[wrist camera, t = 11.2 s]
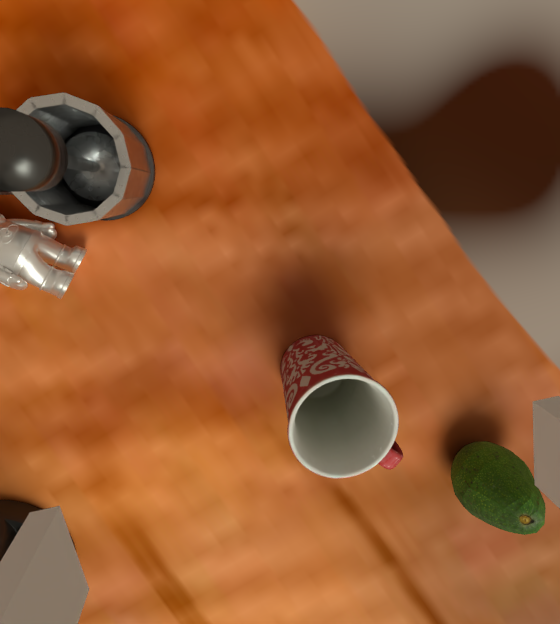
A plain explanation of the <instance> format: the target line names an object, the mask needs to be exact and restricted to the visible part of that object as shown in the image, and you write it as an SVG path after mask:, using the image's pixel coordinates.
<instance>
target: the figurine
mask: <svg viewBox="0 0 560 624" xmlns="http://www.w3.org/2000/svg"><path fill="white" fill-rule="evenodd" d="M56 237H57V231H56V230H55V225H54V224H53V223H51V222H46V223H44V222H41V221H38V220H28V219H5V217H4V216H3V215H2V214H0V283H1V284H3V285H5V286H7V287H11V288H14V289H17V290H24V289H26V288H27V287H28V284H27V283H29V284H32V285H34V286H36V287H38V288H39V290H43V291H46V292H48V293H50V294H53V295H55V296H57V298H60V299H61V298H62V297H63V295H64V293H65V292H66V290H67V288H68V286H69V284H70V282H71V281H72V279H73V277H74V273H75V272H76V270H77V268H78V267H79V265H80V263H81V261H82V260H83V258H84V256H85V254H86V252H87V249H86V248H82V247H80V246H75V247H73V248H72V247H68V246H66V244H64V245H63V244H61V243H59V242H57V241H55V240H54V239H55V238H56ZM48 264H52V265H53V266H54V267H55V266H56V267H59V268H61V269H64V270H58V269H55V268H54V267H53V266H52V267H51V266H49V265H48ZM65 270H66V271H65Z"/></svg>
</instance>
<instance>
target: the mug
mask: <svg viewBox="0 0 560 624" xmlns="http://www.w3.org/2000/svg"><path fill="white" fill-rule="evenodd" d="M281 378H282V383H283V389H284V396H285V403H286V410H287V416H288V440H289V444H290V447H291V450H292V452H293V454H294V455H295V457H296V458H297V460H298V461H299V462H300V463H301V464H302V465H303V466H304V467H305V468H307V469H308V470H310V471H311V472H313V473H315V474H318V475H320V476H324V477H328V478H337V479H339V478H348V477H353V476H356V475H359V474H362V473H364V472H366V471H368V470H369V469H371V468H373V467H374V466H375V465H377V464H380V465H381V466H382V467H384V468H386V469H393V468H394V467H395V466H396V465H397V464H398V463H399V462H400V461H401V459H402V458H403V453H402V450H401V449H400V447H399V446H398V444H397V443H396V441H395V438H396V435H397V431H398V425H399V418H398V411H397V407H396V404H395V402H394V400H393V398H392V396H391V395H390V393H389V392H388V391H387V390H386V389H385V387H383V386H382V385H381V384H380V383H378V382H377V381H375V380H374V379H372V377H371V376H370V375H369V374H368V373H367V372H366V371H365V370H364V369H363V368H362V367H361V366H360V365H359V364H358V363H357V362H356V361H355V360H354V359H353V358H352V357H351V356H350V355H349V354H348V353H347V352H346V351H345V350H344V349H343V348H342V347H341V346H340V345H339V344H338V343H337V342H336V341H334V340H333V339H331V338H328V337H325V336H320V335H312V336H306V337H303V338H301V339H299V340H297V341H296V342H294V343H293V344H292V345H291V346H290V347H289V348H288V349H287V351H286V352H285V354H284V356H283V358H282V361H281Z"/></svg>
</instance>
